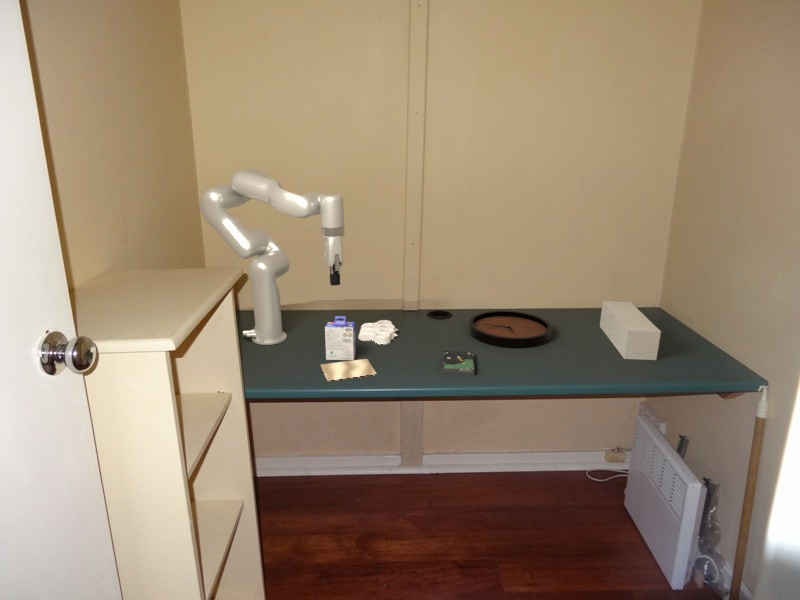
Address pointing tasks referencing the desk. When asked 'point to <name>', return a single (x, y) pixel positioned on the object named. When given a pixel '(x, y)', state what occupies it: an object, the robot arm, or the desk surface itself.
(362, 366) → the board
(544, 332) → the wall clock
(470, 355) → the disk drive
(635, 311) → the stack of papers
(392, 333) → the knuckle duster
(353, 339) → the ink cartridge box
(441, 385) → the desk surface
